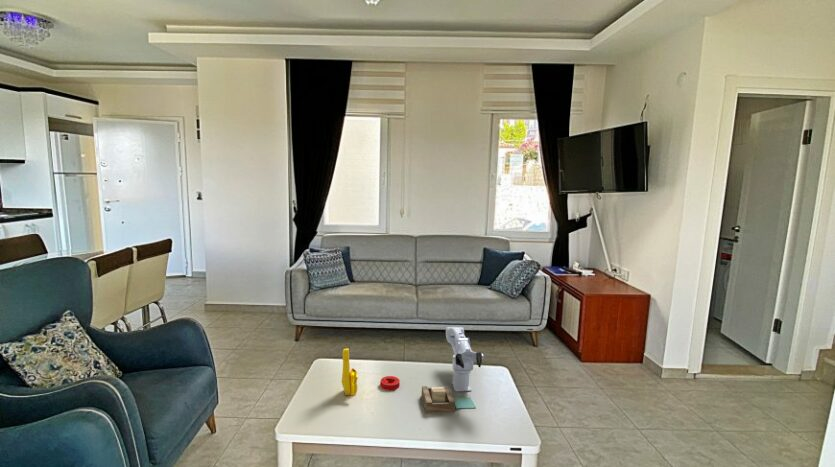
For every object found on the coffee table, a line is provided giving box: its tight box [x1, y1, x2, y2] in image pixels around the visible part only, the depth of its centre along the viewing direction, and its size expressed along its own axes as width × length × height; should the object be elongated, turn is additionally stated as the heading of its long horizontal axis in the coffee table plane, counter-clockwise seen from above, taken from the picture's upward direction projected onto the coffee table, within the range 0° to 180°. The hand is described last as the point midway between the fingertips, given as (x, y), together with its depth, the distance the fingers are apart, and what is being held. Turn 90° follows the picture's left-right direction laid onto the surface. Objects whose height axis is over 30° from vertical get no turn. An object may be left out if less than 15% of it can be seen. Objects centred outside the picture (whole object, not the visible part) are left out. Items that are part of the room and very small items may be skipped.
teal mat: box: [453, 397, 477, 410], centre depth 197 cm, size 9×9×1 cm
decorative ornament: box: [379, 375, 401, 391], centre depth 211 cm, size 10×10×3 cm
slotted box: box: [421, 385, 456, 414], centre depth 196 cm, size 15×13×5 cm
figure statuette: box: [341, 348, 359, 397], centre depth 201 cm, size 18×8×22 cm, turn 7°
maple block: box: [430, 386, 445, 402], centre depth 195 cm, size 4×6×5 cm, turn 97°
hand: (471, 365), depth 190 cm, fingers open, 7 cm apart
